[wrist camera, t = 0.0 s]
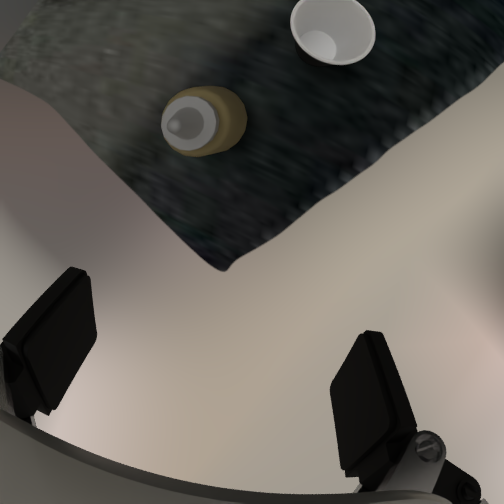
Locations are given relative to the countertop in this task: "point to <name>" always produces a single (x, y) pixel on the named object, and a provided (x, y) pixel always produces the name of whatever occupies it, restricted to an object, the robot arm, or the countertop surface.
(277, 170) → the countertop surface
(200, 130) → the squeeze bottle
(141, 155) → the countertop surface
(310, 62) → the dixie cup
